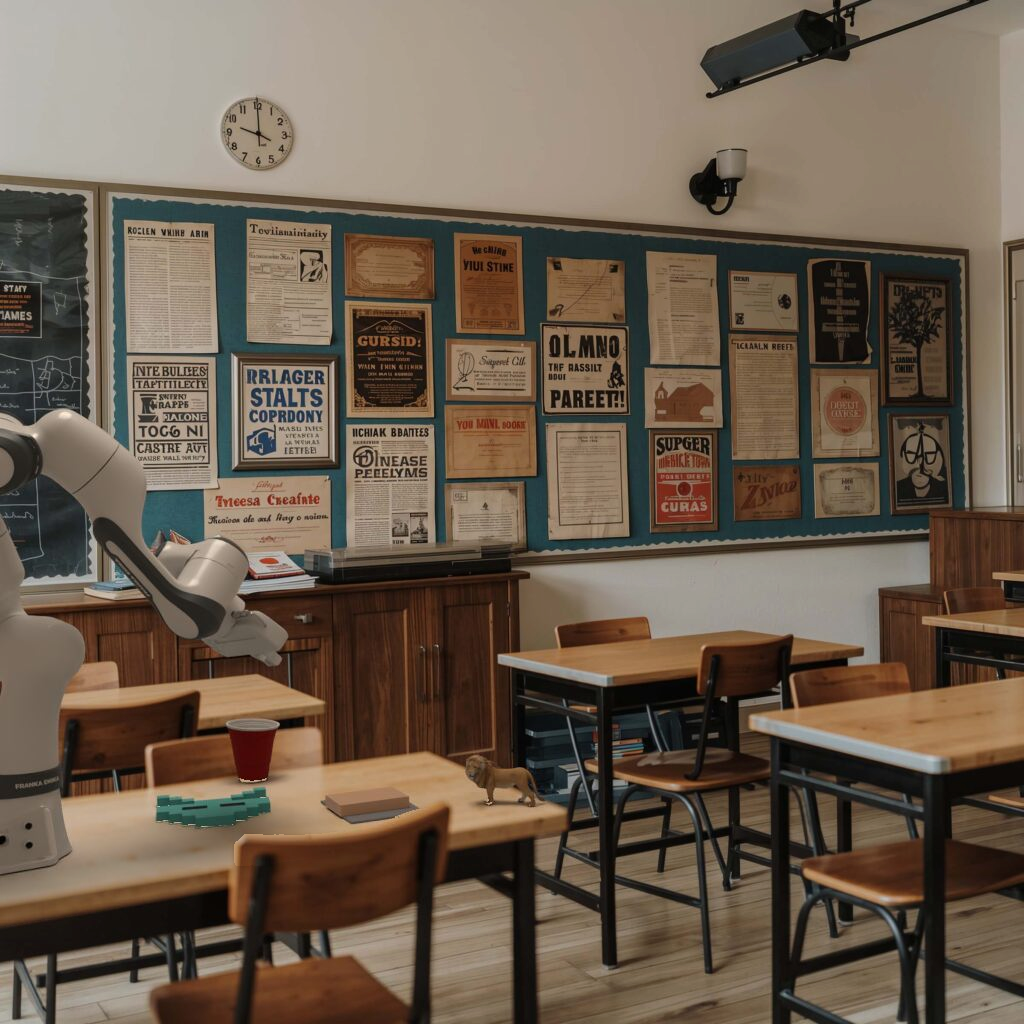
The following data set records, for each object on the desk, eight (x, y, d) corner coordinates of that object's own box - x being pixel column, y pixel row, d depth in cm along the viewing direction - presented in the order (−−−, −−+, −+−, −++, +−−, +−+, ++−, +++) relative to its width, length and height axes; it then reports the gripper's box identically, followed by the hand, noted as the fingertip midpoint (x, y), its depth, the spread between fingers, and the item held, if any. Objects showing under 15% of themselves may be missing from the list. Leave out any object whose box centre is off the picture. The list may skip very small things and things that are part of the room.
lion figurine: (464, 807, 224) (463, 758, 224) (467, 800, 229) (466, 752, 229) (544, 807, 223) (543, 757, 223) (546, 800, 228) (545, 751, 228)
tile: (340, 805, 218) (409, 796, 224) (325, 795, 226) (391, 786, 232) (340, 817, 218) (409, 807, 224) (325, 806, 226) (392, 797, 232)
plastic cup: (267, 787, 244) (266, 727, 244) (217, 785, 246) (216, 725, 246) (289, 775, 255) (288, 717, 254) (241, 773, 257) (240, 716, 257)
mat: (351, 824, 214) (351, 822, 214) (320, 802, 230) (320, 800, 230) (425, 813, 220) (425, 811, 220) (391, 793, 237) (390, 791, 237)
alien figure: (157, 807, 231) (155, 834, 212) (157, 795, 231) (155, 821, 212) (265, 798, 237) (273, 823, 217) (265, 786, 237) (273, 811, 217)
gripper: (259, 595, 209) (315, 645, 214) (203, 605, 224) (258, 652, 230) (239, 624, 205) (297, 674, 211) (184, 633, 221) (239, 679, 226)
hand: (276, 662), depth 220 cm, fingers closed
